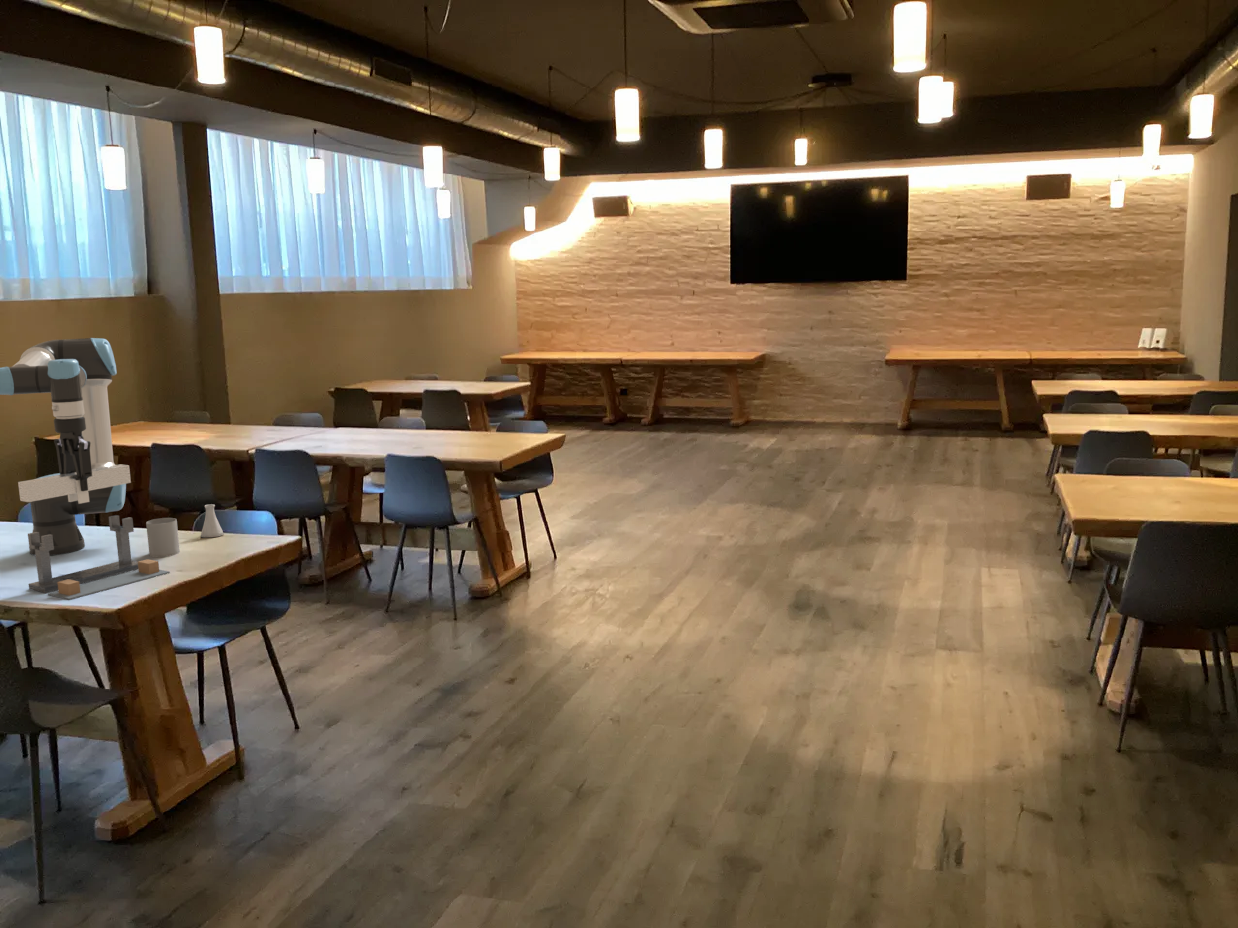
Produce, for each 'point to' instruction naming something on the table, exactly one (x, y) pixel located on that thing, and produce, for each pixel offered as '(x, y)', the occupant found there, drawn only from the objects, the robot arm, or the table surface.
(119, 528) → the hook stand
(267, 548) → the table surface
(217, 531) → the flask
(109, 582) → the mat
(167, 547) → the cup
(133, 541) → the table surface
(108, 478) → the white bar
